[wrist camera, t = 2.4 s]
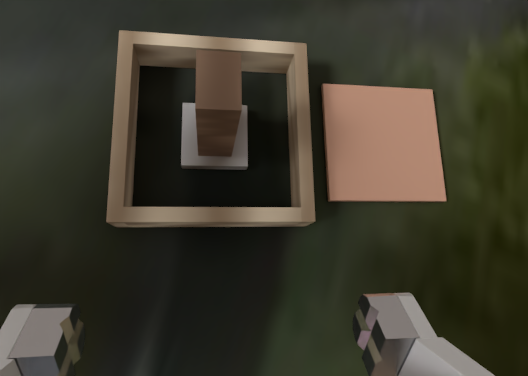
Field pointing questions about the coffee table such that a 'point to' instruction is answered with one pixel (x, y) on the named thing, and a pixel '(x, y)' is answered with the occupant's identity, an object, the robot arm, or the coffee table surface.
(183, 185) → the coffee table surface
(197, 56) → the wooden post
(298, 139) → the frame
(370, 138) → the terracotta tile
